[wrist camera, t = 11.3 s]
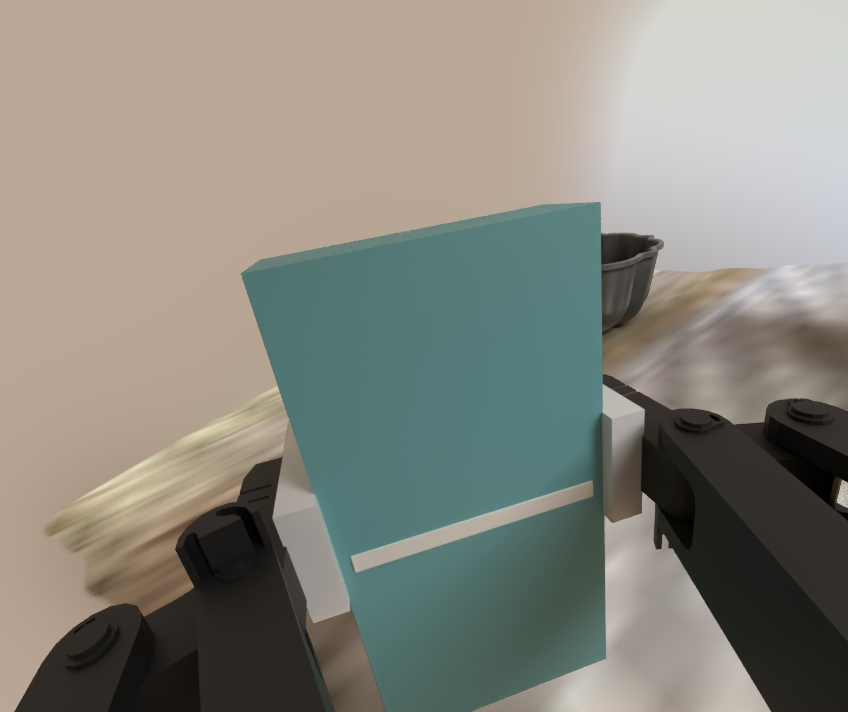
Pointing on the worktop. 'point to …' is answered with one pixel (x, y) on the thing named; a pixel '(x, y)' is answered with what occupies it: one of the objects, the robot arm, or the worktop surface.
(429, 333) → the teal tile
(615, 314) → the bundt pan
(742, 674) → the worktop surface
